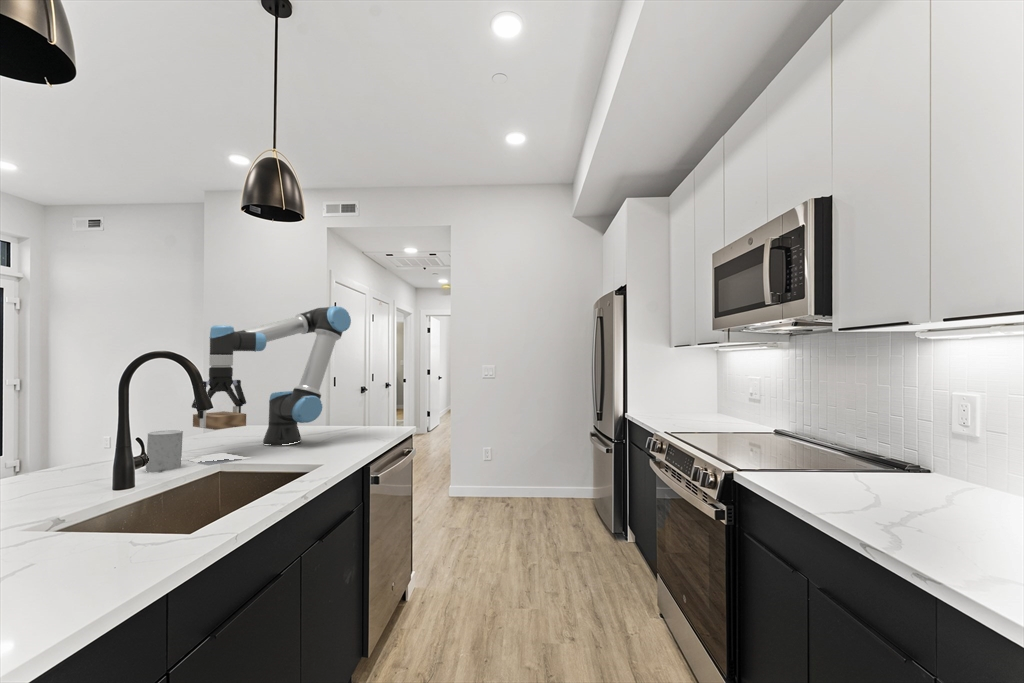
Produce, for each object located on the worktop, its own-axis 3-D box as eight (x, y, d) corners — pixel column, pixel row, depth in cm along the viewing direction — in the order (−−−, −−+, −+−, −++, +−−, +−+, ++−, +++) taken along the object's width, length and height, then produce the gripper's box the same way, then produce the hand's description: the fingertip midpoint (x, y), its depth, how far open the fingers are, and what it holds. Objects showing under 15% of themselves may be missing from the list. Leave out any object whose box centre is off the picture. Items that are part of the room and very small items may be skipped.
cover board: (223, 422, 179) (223, 411, 180) (246, 425, 172) (246, 413, 172) (192, 426, 170) (193, 414, 170) (215, 429, 163) (215, 417, 163)
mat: (223, 452, 182) (223, 451, 182) (253, 458, 172) (253, 457, 172) (178, 459, 168) (178, 458, 168) (208, 466, 158) (208, 465, 158)
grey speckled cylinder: (166, 472, 148) (168, 434, 149) (137, 472, 149) (139, 434, 149) (188, 466, 158) (189, 430, 159) (160, 465, 158) (162, 430, 159)
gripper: (246, 366, 184) (244, 420, 183) (181, 367, 163) (179, 428, 163) (257, 366, 180) (256, 422, 179) (192, 367, 160) (190, 430, 159)
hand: (219, 425), depth 171 cm, fingers closed on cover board, 11 cm apart
